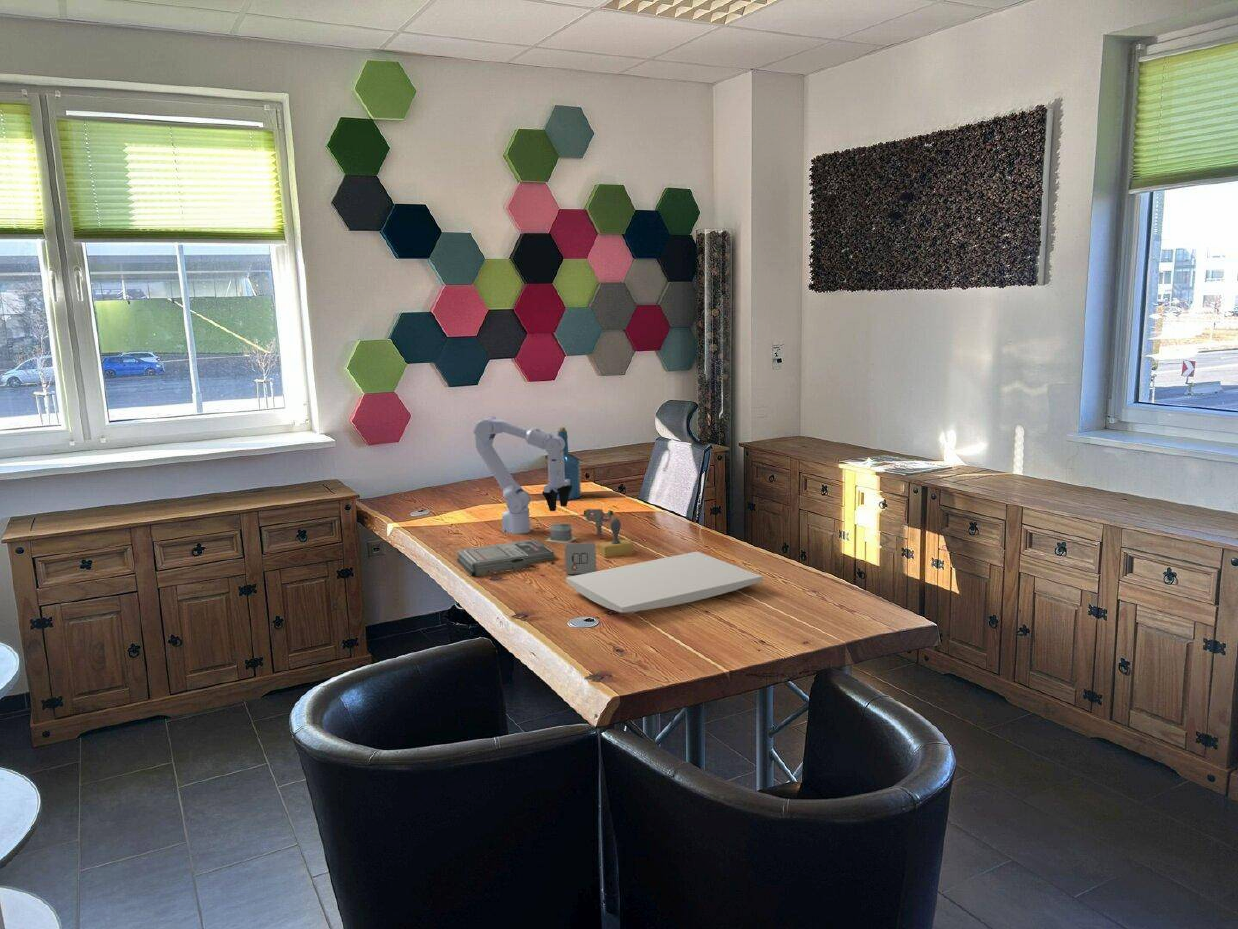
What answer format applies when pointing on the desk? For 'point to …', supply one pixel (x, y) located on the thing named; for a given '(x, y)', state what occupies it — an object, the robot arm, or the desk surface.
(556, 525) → the block
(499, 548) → the hard drive
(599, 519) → the mechanical component
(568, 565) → the electrical switch
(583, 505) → the desk surface
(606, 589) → the board
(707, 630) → the desk surface
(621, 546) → the rubber stamp
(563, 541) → the stand
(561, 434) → the wine bottle
